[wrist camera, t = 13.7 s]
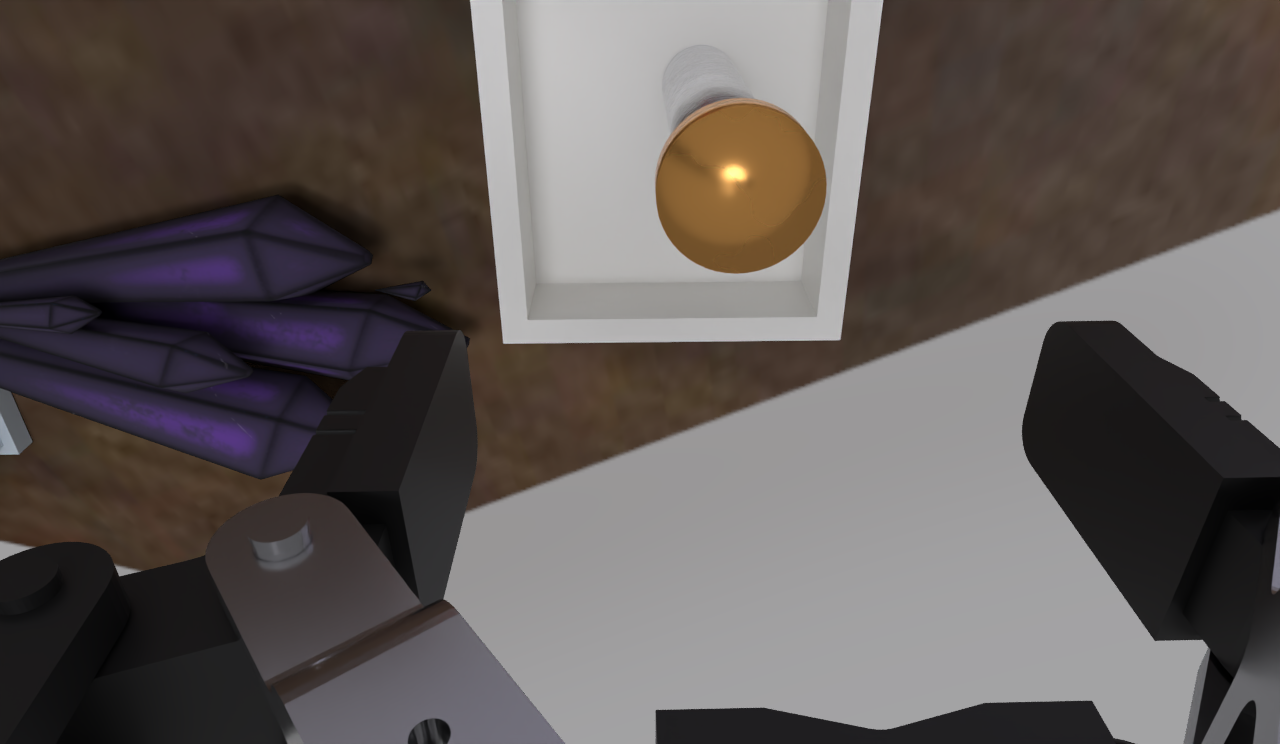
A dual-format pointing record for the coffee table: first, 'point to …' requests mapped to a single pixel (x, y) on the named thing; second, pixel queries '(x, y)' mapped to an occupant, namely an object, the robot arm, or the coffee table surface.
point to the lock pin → (733, 169)
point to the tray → (627, 159)
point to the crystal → (200, 330)
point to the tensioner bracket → (11, 426)
